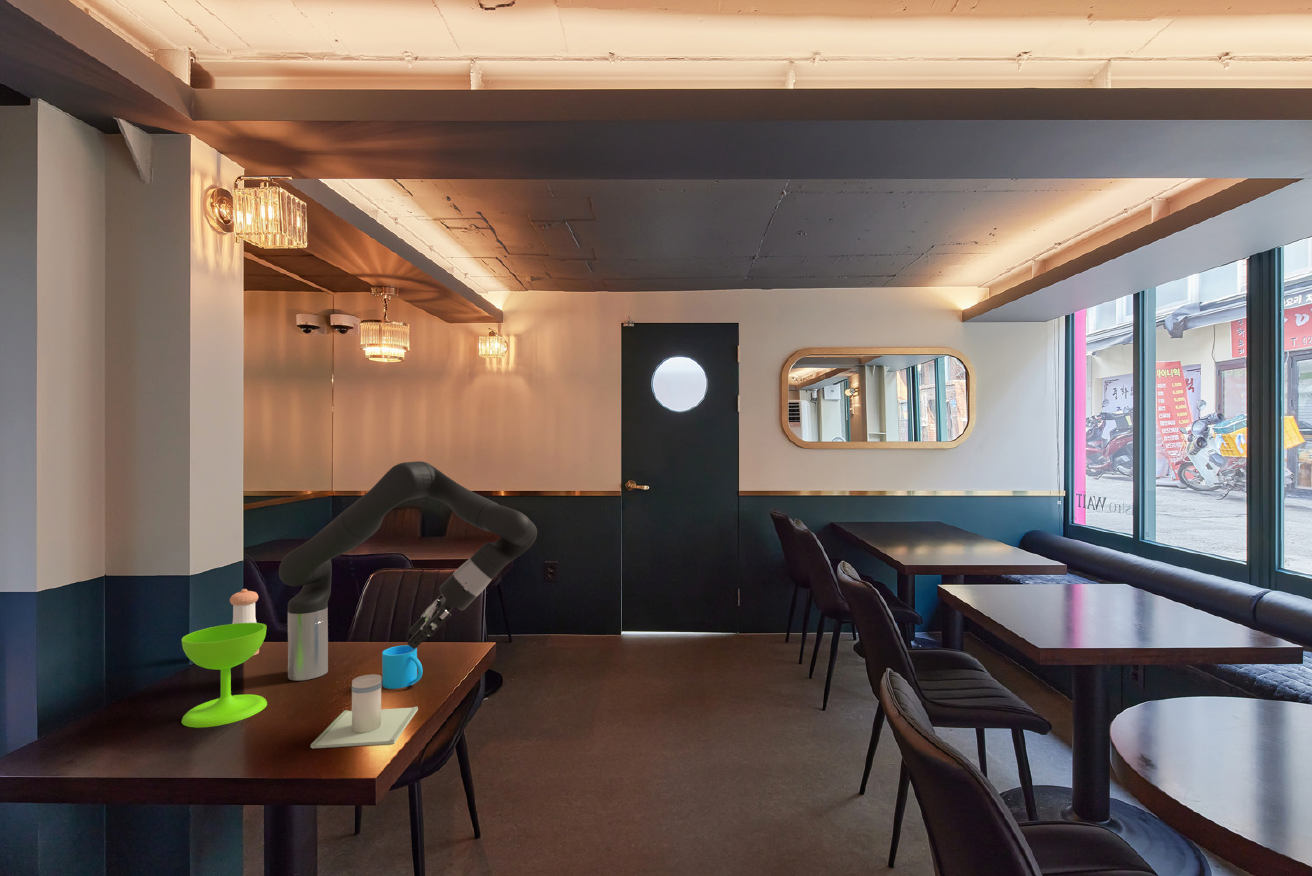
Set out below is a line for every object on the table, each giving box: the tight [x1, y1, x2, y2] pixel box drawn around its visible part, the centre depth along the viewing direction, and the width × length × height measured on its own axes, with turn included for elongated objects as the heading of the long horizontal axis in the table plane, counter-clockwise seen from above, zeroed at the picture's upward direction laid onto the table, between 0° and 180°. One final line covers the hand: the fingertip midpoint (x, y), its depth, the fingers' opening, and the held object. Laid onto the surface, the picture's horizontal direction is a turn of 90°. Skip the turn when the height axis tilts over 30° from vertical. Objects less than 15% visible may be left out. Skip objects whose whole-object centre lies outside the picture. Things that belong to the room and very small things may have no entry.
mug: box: [381, 644, 424, 690], centre depth 155 cm, size 12×8×8 cm
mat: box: [310, 706, 419, 749], centre depth 130 cm, size 16×16×1 cm
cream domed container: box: [351, 674, 383, 733], centre depth 129 cm, size 6×6×10 cm
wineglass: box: [181, 622, 268, 729], centre depth 139 cm, size 16×16×18 cm
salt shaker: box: [229, 588, 260, 657], centre depth 180 cm, size 7×7×19 cm
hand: (411, 640), depth 134 cm, fingers open, 8 cm apart
